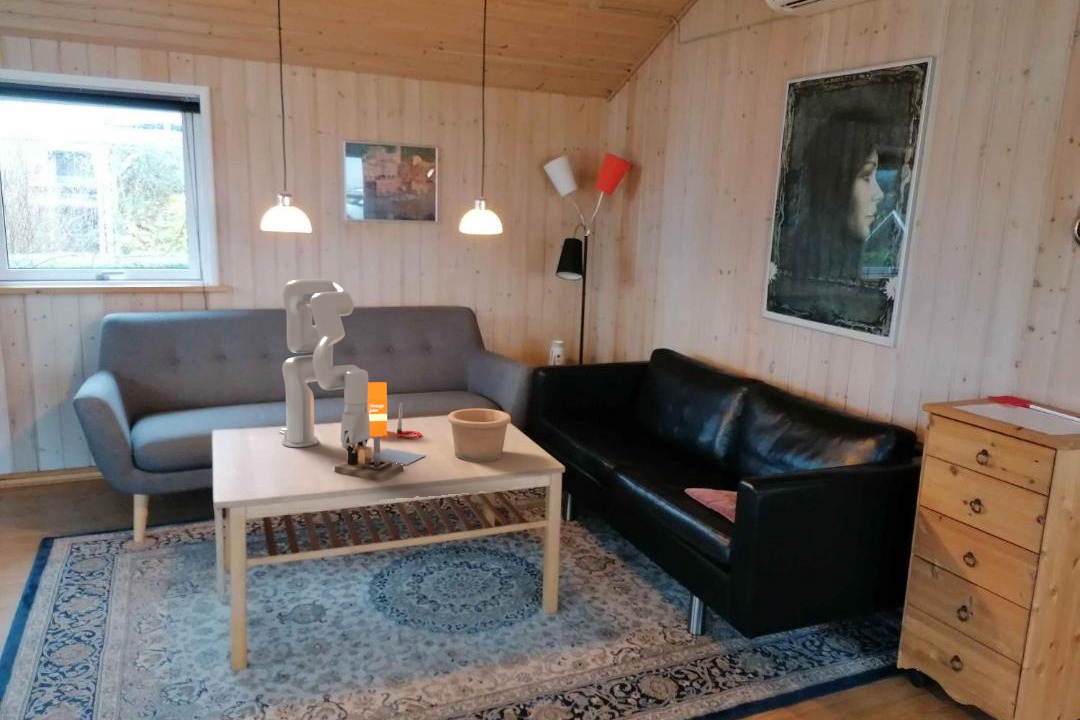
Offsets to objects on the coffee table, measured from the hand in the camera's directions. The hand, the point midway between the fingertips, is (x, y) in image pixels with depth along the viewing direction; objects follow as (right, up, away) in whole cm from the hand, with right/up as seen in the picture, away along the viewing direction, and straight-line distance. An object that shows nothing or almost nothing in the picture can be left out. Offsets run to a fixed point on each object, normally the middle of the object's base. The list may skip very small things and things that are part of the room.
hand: (356, 461), depth 245 cm
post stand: (+5, -3, -1) cm, 6 cm away
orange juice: (-3, +5, +43) cm, 43 cm away
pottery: (+38, -1, +21) cm, 44 cm away
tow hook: (+10, +4, +41) cm, 43 cm away
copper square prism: (+4, -1, -2) cm, 5 cm away
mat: (+10, 0, +14) cm, 18 cm away
